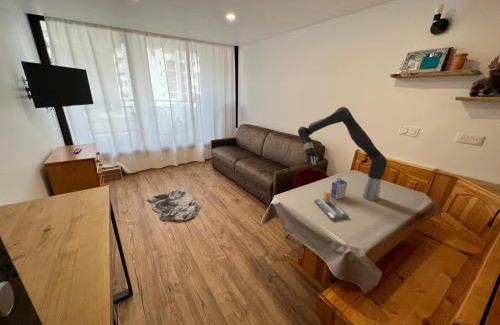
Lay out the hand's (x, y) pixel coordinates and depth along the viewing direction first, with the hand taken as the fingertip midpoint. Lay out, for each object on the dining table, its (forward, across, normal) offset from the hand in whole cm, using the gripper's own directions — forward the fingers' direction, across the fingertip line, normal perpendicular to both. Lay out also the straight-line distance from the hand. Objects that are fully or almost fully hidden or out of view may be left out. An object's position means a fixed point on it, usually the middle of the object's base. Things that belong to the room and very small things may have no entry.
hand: (314, 169), depth 152 cm
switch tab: (+25, 0, -2) cm, 25 cm away
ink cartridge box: (+21, +15, +5) cm, 26 cm away
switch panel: (+31, 0, -5) cm, 31 cm away
